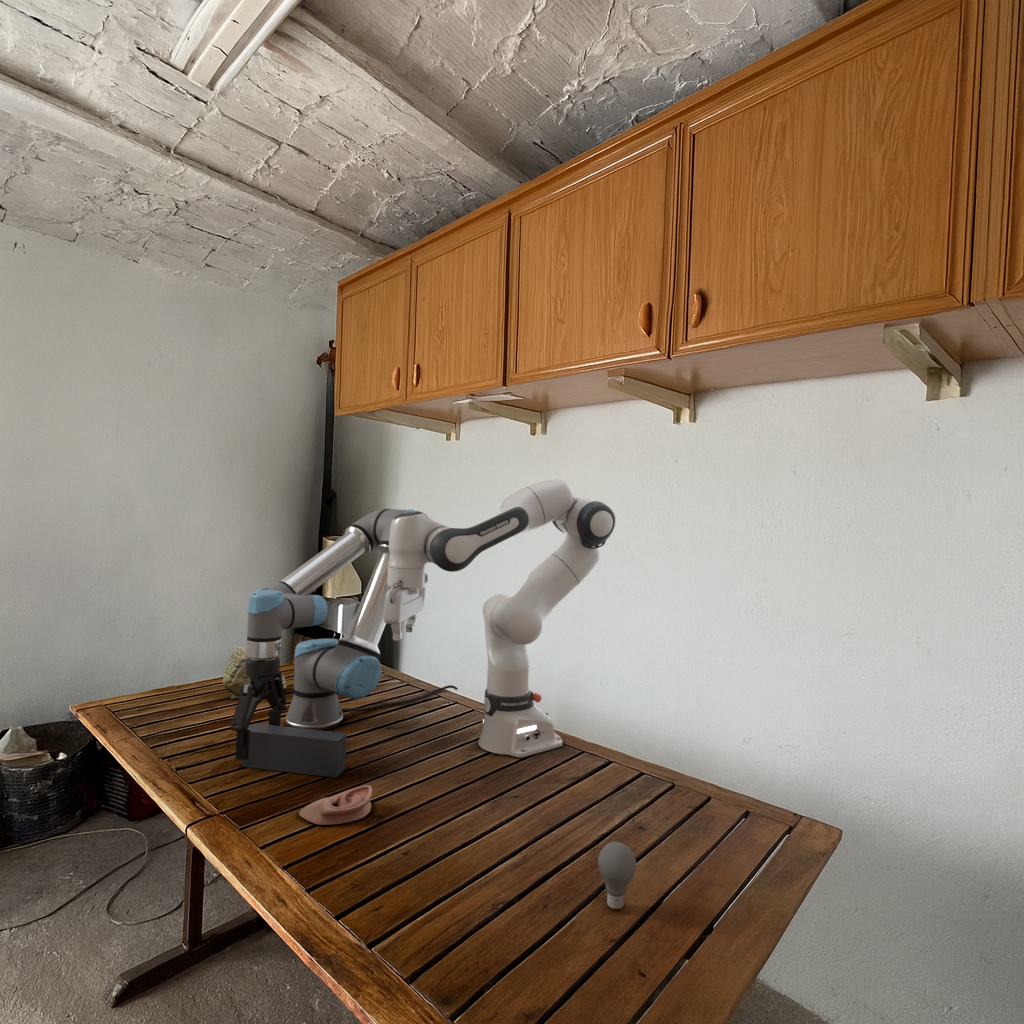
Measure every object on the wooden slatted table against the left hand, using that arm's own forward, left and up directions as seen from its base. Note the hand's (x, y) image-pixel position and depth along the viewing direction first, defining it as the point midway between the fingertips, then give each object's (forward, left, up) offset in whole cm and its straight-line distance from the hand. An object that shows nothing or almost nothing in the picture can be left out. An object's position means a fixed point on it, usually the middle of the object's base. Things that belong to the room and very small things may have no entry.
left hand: (258, 747), depth 148 cm
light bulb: (-11, +89, -4) cm, 89 cm away
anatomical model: (+1, +32, -4) cm, 32 cm away
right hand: (-24, +22, +27) cm, 42 cm away
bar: (-5, +7, -4) cm, 10 cm away
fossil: (-26, -48, -4) cm, 54 cm away
